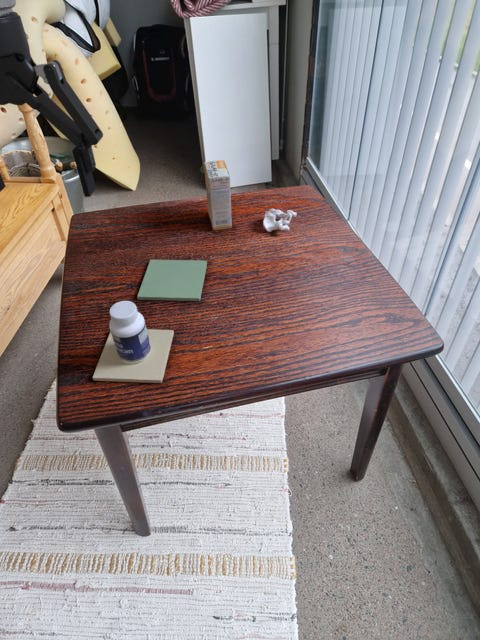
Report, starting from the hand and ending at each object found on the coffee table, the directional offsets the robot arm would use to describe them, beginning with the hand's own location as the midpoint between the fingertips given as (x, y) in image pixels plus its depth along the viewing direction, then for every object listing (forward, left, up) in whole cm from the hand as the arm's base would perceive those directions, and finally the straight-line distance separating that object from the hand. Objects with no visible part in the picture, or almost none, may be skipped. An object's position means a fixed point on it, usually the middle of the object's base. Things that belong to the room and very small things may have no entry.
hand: (44, 191), depth 61 cm
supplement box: (+21, +33, -24) cm, 46 cm away
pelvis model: (+35, +31, -24) cm, 53 cm away
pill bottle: (+11, -10, -24) cm, 28 cm away
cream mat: (+11, -10, -24) cm, 28 cm away
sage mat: (+14, +10, -24) cm, 30 cm away
